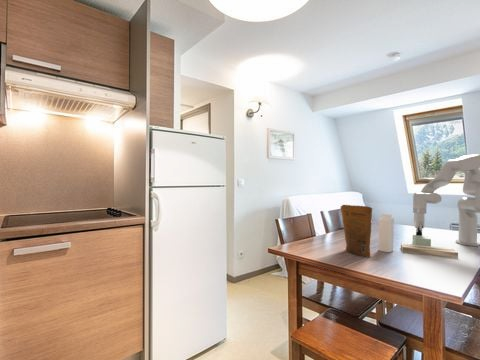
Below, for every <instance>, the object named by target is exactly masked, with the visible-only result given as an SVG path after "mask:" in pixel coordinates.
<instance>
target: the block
mask: <svg viewBox="0 0 480 360" xmlns="http://www.w3.org/2000/svg"><path fill="white" fill-rule="evenodd" d="M412 245H422V246H432V239H431V238H430V237H428V236H427V235H422V236H419V235H416V234H412Z"/></svg>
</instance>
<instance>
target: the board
mask: <svg viewBox="0 0 480 360" xmlns="http://www.w3.org/2000/svg"><path fill="white" fill-rule="evenodd" d="M400 250H401V252H403V253H408V254H417V255H425V256H434V257H442V258H443V257H444V258H451V259H459V252H458V251H456V250H455V248H450V247H439V246H432V245H431V246H422V245H413V244H409V243H402V242H401V243H400Z"/></svg>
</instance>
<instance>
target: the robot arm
mask: <svg viewBox="0 0 480 360" xmlns="http://www.w3.org/2000/svg"><path fill="white" fill-rule="evenodd" d="M461 172H464V180H463V185H462V192H463V193H464V195H467V197H466V196H463V197H461V198H459V200H457V208H458V218H459V219H458V239H456V240H455V243H456V244H459V245H464V246H469V247H470V246H472V247H479V245H480V243H479V242H478V219H479V218H478V215H477V214H480V153H479V154H468V155H466V154H465V155H461V156H460V157H458V158H455V159H448V160H447V161H445V162H444V164H443V165H442V166H441V169H440V170H439V172H437V175H436V176H435V177H434V178H433V179H431V180H430V181H429V182H428V183H426V184H425V185H424V186H423V188H422V189H421V191H420V192H414V193H413V194H412V195H413V197H412V213H413V214H414V215H413V225H412V226H413V227H414V228H415V229H416V230H415V235H419V236H423V229H424V228H425V215H426V214H427V208H428V207H427V204H430V205H437V204H439V203H440V202H441V201H442V196H441V195H440V194H439V193H437V192H435V191H437V189H440V188H442V187H446V186H448V185H449V184H450V183H451V182H452V180H453V178H454V177H455V175H456V174H457V173H461ZM470 196H474V197H470Z"/></svg>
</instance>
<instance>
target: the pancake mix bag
mask: <svg viewBox="0 0 480 360" xmlns="http://www.w3.org/2000/svg"><path fill="white" fill-rule="evenodd" d="M340 213H341V219H342V225H343V232H344V239H345V245H346V246H345V251H346V252H347V253H349V254H354V255H357V256H360V257H363V258H372V257H371V248H370V247H371V246H370V244H371V234H372V233H371V232H372V217H373V208H372V207H370V206H366V205H365V206H364V205H352V204H351V205H350V204H342V205H341V206H340Z"/></svg>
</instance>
